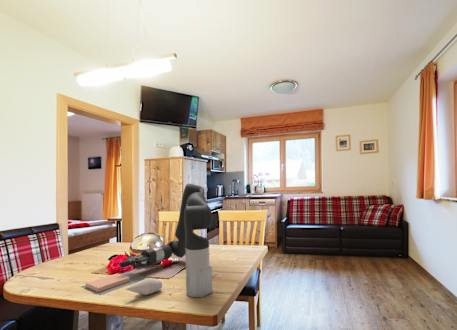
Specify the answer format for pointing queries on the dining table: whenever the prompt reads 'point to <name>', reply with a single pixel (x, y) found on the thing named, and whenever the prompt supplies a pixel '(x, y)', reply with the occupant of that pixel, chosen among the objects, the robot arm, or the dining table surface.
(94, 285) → the tile
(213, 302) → the dining table surface
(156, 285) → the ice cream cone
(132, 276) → the mat
